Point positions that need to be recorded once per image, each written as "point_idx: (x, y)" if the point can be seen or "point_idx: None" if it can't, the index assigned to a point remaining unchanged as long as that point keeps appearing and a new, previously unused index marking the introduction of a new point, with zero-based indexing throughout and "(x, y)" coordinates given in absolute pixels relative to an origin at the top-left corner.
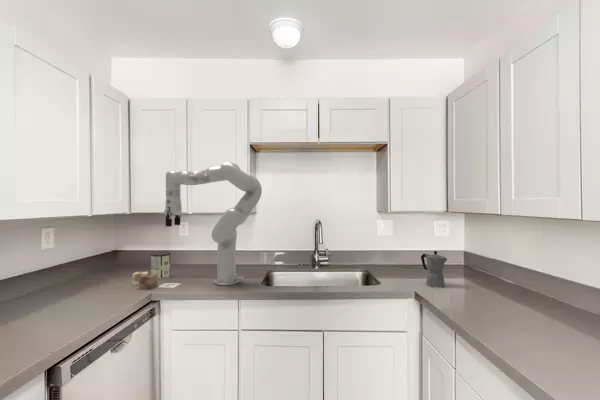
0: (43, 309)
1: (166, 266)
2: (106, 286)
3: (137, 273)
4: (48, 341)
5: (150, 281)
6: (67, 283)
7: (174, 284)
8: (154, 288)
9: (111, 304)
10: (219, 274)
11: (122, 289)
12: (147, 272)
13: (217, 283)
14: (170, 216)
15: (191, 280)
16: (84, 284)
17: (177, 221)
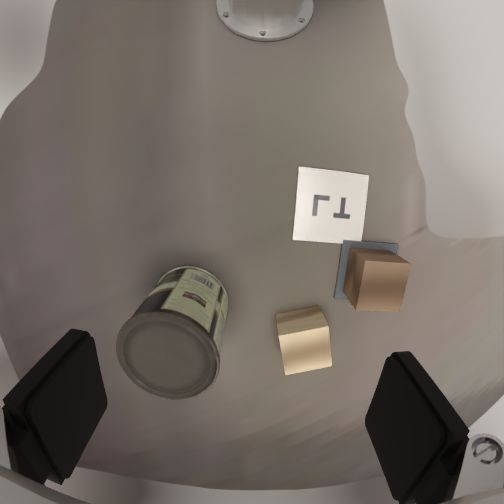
0: (482, 386)
1: (198, 291)
2: (325, 405)
3: (316, 357)
4: None
5: (402, 259)
6: (285, 482)
7: (319, 190)
8: (380, 242)
9: (491, 284)
10: (301, 2)
11: (367, 346)
12: (289, 332)
13: (307, 23)
14: (500, 469)
15: (230, 148)
16: (297, 455)
17: (74, 400)
